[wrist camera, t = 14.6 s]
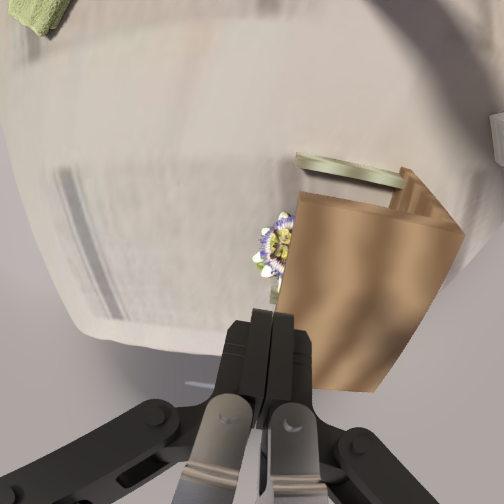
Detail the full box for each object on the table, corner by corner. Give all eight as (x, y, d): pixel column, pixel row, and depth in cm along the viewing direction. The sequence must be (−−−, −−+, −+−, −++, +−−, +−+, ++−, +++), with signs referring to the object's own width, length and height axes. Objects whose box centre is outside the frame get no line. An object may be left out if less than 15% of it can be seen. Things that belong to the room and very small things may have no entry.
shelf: (269, 295, 53) (259, 381, 39) (297, 144, 39) (300, 201, 25) (360, 307, 53) (373, 392, 39) (410, 169, 38) (465, 235, 24)
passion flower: (286, 200, 49) (314, 188, 38) (332, 250, 51) (370, 253, 39) (233, 253, 48) (247, 256, 36) (283, 302, 50) (311, 320, 38)
